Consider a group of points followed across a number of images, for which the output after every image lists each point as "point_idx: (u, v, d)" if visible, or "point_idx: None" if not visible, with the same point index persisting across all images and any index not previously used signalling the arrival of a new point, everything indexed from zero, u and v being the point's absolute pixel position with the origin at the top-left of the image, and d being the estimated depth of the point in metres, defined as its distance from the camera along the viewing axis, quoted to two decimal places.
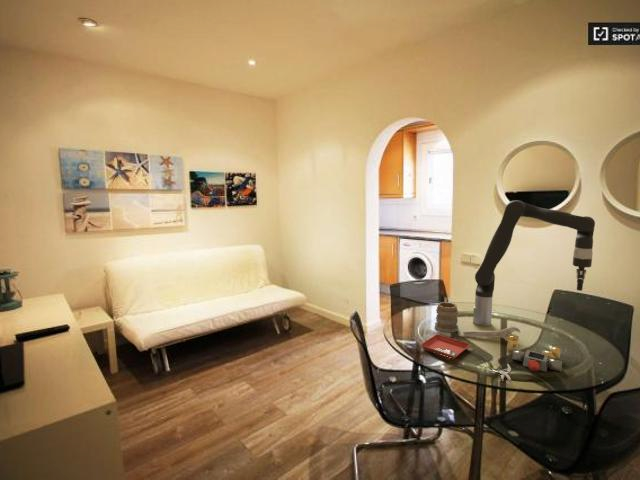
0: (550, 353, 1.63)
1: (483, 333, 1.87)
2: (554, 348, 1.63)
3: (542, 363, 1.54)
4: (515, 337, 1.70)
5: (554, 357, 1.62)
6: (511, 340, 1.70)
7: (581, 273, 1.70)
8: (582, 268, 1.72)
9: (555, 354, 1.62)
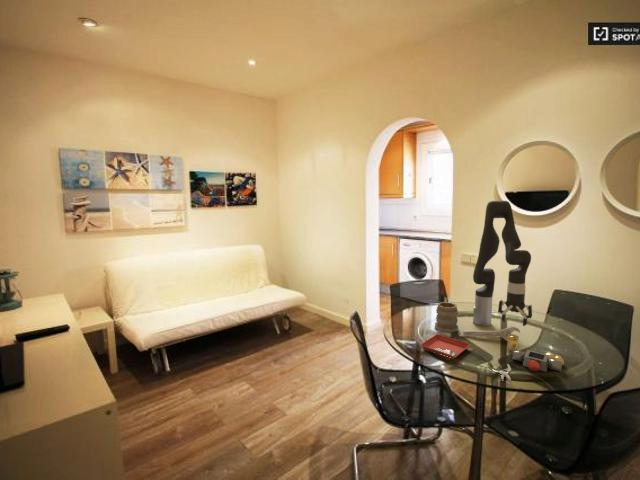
0: None
1: (483, 333, 1.88)
2: None
3: (542, 363, 1.54)
4: (515, 337, 1.70)
5: None
6: (511, 340, 1.70)
7: (531, 308, 1.65)
8: None
9: None
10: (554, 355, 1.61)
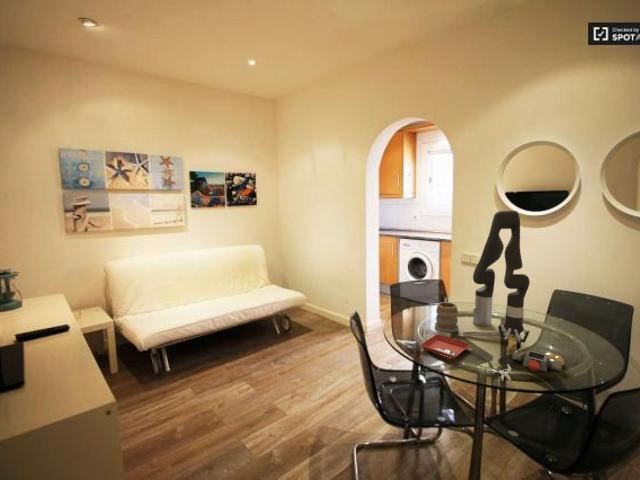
0: None
1: (483, 333, 1.87)
2: None
3: (542, 363, 1.54)
4: (515, 337, 1.70)
5: None
6: (511, 340, 1.70)
7: (528, 333, 1.67)
8: (522, 326, 1.68)
9: None
10: (554, 355, 1.61)
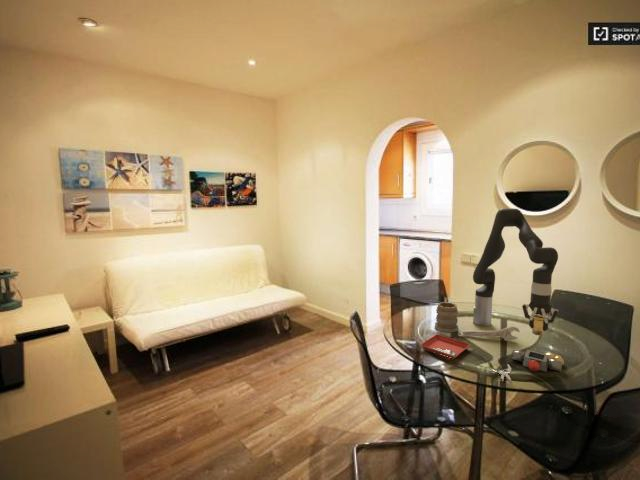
0: None
1: (482, 333, 1.88)
2: None
3: (542, 363, 1.54)
4: (541, 317, 1.55)
5: None
6: (537, 320, 1.55)
7: None
8: None
9: None
10: (554, 355, 1.61)
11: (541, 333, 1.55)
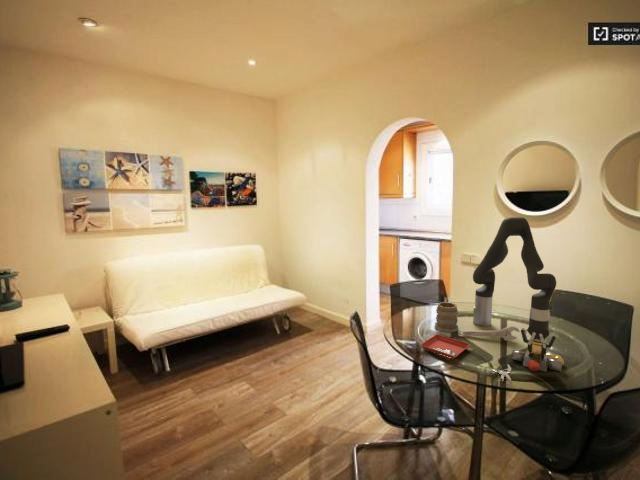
0: None
1: (482, 333, 1.88)
2: None
3: (542, 363, 1.54)
4: (540, 342, 1.56)
5: None
6: (535, 345, 1.56)
7: (555, 338, 1.54)
8: (548, 330, 1.55)
9: None
10: (554, 355, 1.61)
11: (539, 358, 1.57)
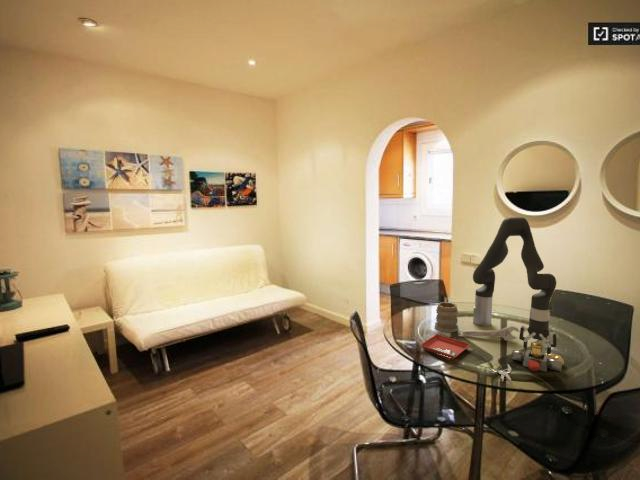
0: None
1: (482, 333, 1.88)
2: None
3: (542, 363, 1.54)
4: (539, 345, 1.57)
5: None
6: (535, 348, 1.57)
7: (556, 336, 1.53)
8: (548, 330, 1.55)
9: None
10: (554, 355, 1.61)
11: None
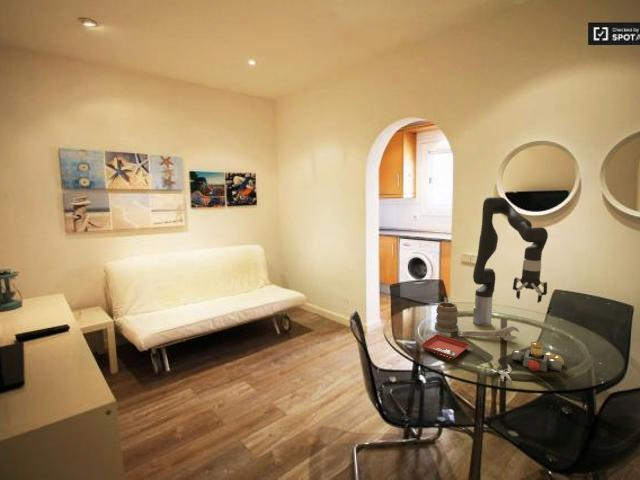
0: None
1: (482, 333, 1.88)
2: None
3: (542, 363, 1.54)
4: (539, 345, 1.57)
5: None
6: (535, 348, 1.57)
7: (546, 285, 1.66)
8: (539, 279, 1.68)
9: None
10: (554, 355, 1.61)
11: None
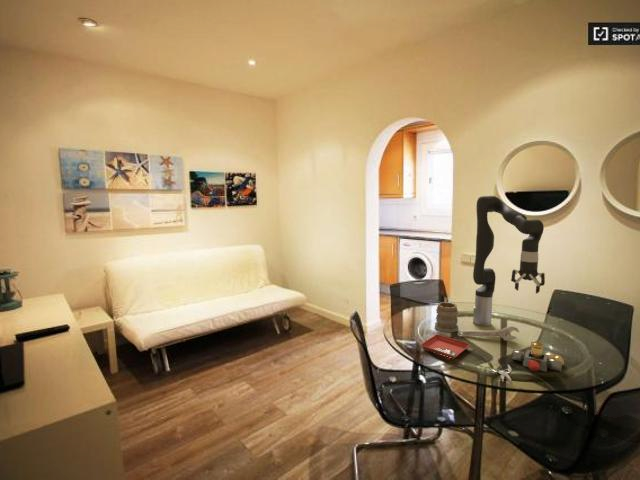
0: None
1: (482, 333, 1.88)
2: None
3: (542, 363, 1.54)
4: (539, 345, 1.57)
5: None
6: (535, 348, 1.57)
7: (544, 275, 1.70)
8: None
9: None
10: (554, 355, 1.61)
11: None
